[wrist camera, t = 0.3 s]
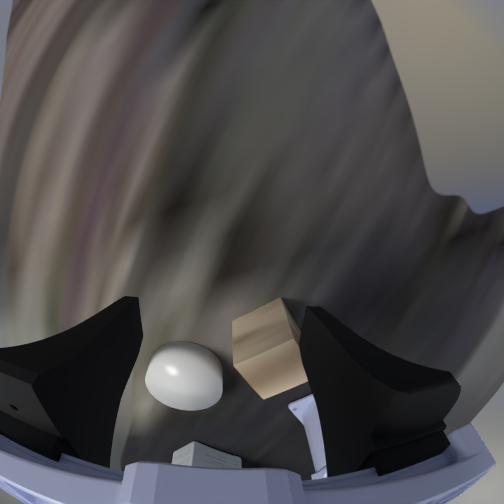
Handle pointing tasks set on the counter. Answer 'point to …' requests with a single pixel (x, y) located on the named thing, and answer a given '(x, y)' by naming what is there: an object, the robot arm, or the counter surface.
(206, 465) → the skincare box
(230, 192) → the counter surface
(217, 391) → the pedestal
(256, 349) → the beech block
